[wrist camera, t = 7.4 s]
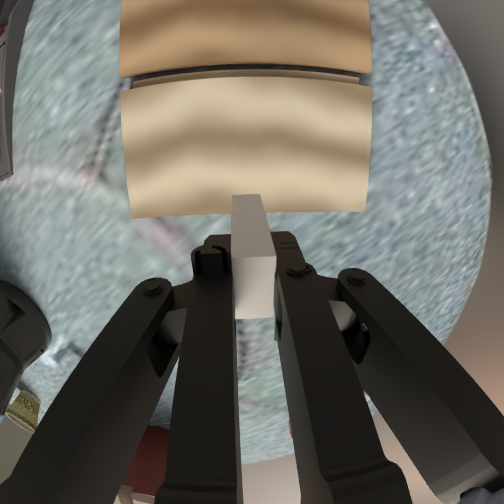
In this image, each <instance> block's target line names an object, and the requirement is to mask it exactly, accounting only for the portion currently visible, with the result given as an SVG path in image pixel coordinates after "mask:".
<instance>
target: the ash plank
mask: <svg viewBox="0 0 504 504" xmlns="http://www.w3.org/2000/svg"><path fill="white" fill-rule="evenodd" d="M120 104H121V124H122V139H123V150H124V161H125V170H126V178H127V186H128V194H129V201H130V207H131V214H132V219H133V218H148V217H164V216H182V215H202V214H226V213H232V195H242V194H260V196H261V199H262V203H263V207H264V211H265V212H365V207H366V198H367V188H368V178H369V165H370V150H371V129H372V87H369V86H364V85H359V78H357V77H351V76H344V75H337V74H329V73H320V72H309V71H296V70H273V69H240V70H217V71H204V72H193V73H184V74H176V75H168V76H162V77H155V78H149V79H144V80H139V81H134V82H133V89H129V90H125V91H120Z"/></svg>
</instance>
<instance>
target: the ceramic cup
mask: <svg viewBox="0 0 504 504" xmlns="http://www.w3.org/2000/svg"><path fill="white" fill-rule="evenodd" d="M39 407H40V400H39V399H38V398H37V397H36V396H34V395H33V394H31V393H30V392H29V391H26V390H22V391H21V392H20V394H19V395H18V396H17V398H16V399H15V401H14V402H13V403H12V404H11V405H10V407H9V408H7V409H6V415H7V416H8V417H9V418H10V419H11V420H12V421H13V422H15V423H16V424H17V425H19V426H20V427H22V428H23V429H25V430H27V431H29V432H31V433H34V432H35V430H36V428H37V419H38V413H39Z"/></svg>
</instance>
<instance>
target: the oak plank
mask: <svg viewBox="0 0 504 504" xmlns="http://www.w3.org/2000/svg"><path fill="white" fill-rule="evenodd" d="M119 63H120V77H125V78H130V77H135V76H140V75H145V74H150V73H156V72H163V71H169V70H177V69H185V68H194V67H204V66H218V65H242V64H270V65H294V66H307V67H318V68H327V69H335V70H342V71H349V72H355V73H361V74H365V73H371V72H372V50H371V28H370V13H369V2H368V0H122V2H121V17H120V47H119Z"/></svg>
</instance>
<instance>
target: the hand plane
mask: <svg viewBox="0 0 504 504" xmlns="http://www.w3.org/2000/svg"><path fill="white" fill-rule="evenodd" d="M33 2H34V0H0V26H2V25H4V24H6V23H8V26H7V27H5V28H4V27H1V28H0V181H2V180H4V179H6V178H8V177H10V176H11V175H13V164H12V115H13V100H14V90H15V81H16V74H17V67H18V61H19V56H20V50H21V46H22V41H23V37H24V33H25V29H26V25H27V21H28V18H29V14H30V11H31V8H32V5H33Z"/></svg>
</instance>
